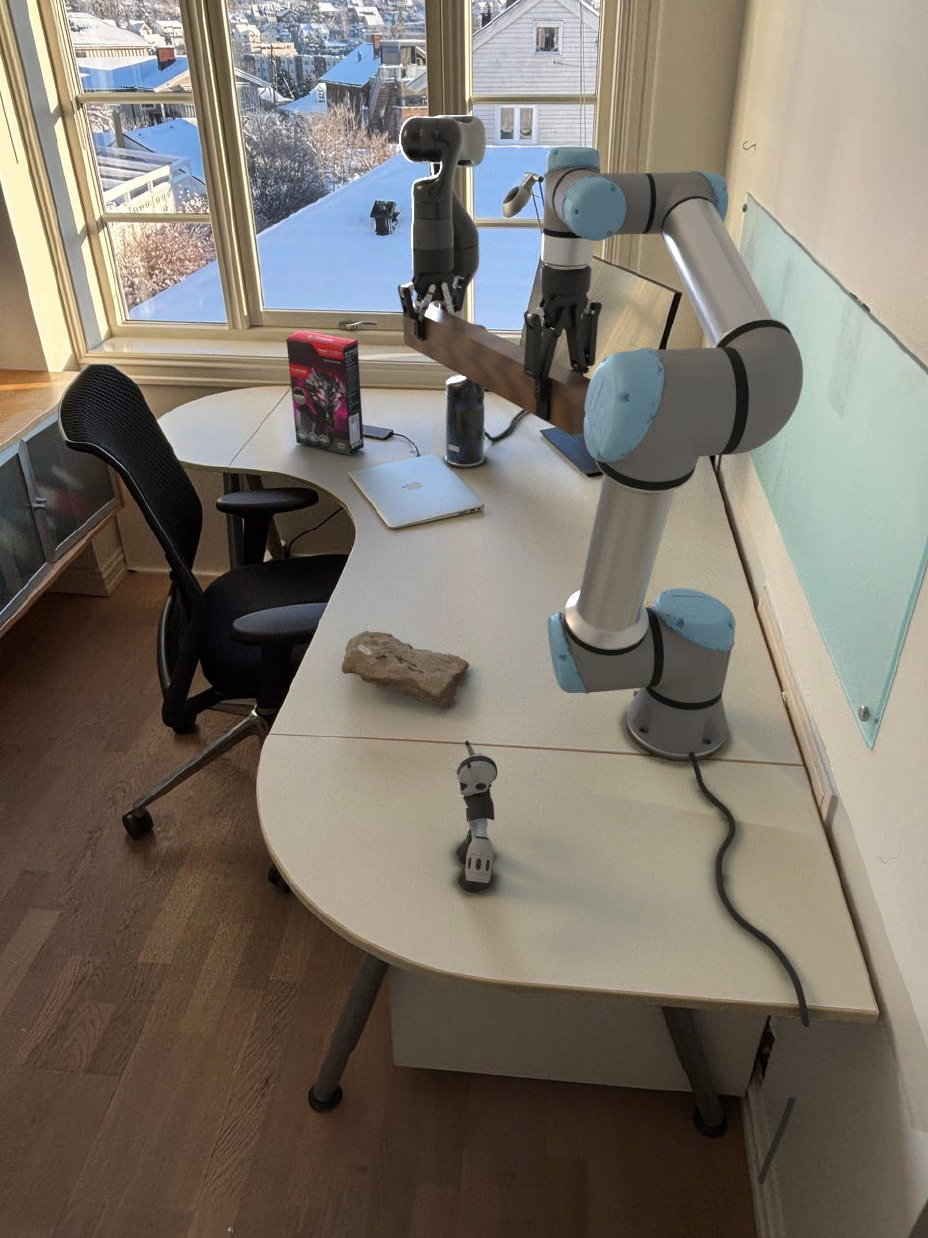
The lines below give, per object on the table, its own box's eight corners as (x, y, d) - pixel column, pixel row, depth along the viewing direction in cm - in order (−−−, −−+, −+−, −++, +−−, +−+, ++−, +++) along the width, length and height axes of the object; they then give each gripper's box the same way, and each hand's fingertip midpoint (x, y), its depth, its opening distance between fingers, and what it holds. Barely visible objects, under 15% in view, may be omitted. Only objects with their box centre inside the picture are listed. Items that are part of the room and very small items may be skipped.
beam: (596, 429, 146) (601, 383, 142) (571, 435, 144) (575, 389, 139) (425, 339, 183) (425, 301, 179) (403, 343, 181) (402, 305, 176)
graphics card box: (294, 443, 234) (283, 336, 218) (310, 434, 239) (300, 328, 224) (350, 457, 227) (343, 347, 212) (366, 447, 232) (360, 339, 217)
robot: (499, 928, 112) (505, 811, 101) (459, 930, 112) (460, 812, 101) (488, 811, 128) (491, 699, 117) (453, 812, 128) (453, 700, 117)
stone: (317, 681, 147) (323, 648, 145) (352, 647, 161) (358, 617, 158) (439, 725, 144) (448, 692, 141) (465, 687, 157) (473, 656, 155)
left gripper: (455, 234, 171) (455, 326, 181) (387, 243, 165) (390, 338, 175) (477, 242, 166) (475, 336, 176) (408, 251, 160) (410, 348, 169)
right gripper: (596, 252, 143) (584, 396, 156) (501, 266, 135) (497, 418, 148) (629, 261, 138) (614, 410, 151) (533, 276, 130) (526, 433, 142)
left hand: (433, 336), depth 175 cm, fingers closed on beam, 5 cm apart
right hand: (556, 413), depth 149 cm, fingers closed on beam, 5 cm apart
